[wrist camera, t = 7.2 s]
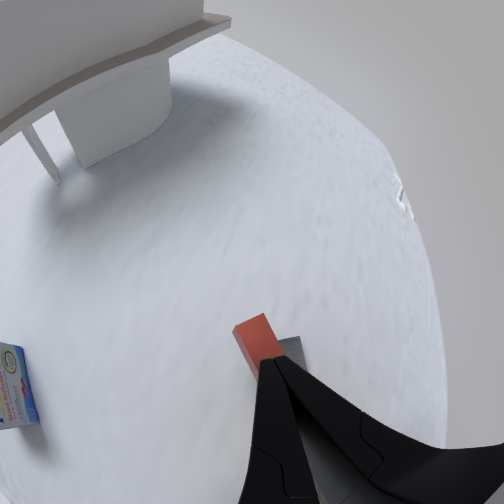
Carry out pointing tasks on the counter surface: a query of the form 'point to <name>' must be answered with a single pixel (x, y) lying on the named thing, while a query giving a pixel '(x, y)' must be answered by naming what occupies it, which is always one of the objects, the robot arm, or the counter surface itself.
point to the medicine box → (14, 390)
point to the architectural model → (93, 68)
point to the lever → (261, 352)
